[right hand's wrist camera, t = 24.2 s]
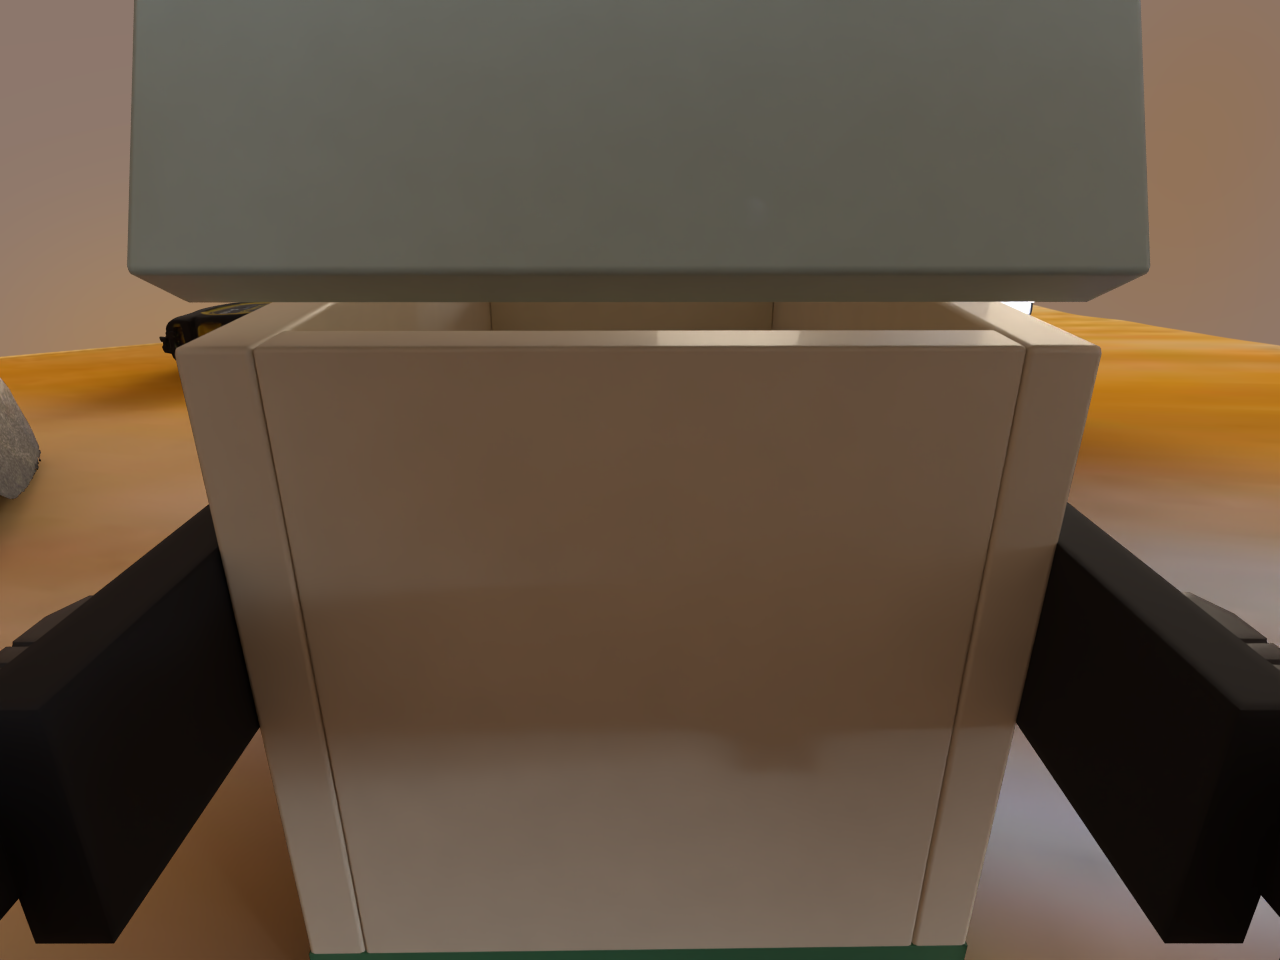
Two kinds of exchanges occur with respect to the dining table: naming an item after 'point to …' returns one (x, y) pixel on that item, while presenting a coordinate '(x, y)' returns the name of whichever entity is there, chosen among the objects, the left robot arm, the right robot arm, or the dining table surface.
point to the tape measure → (204, 323)
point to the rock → (15, 447)
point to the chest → (637, 613)
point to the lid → (638, 150)
